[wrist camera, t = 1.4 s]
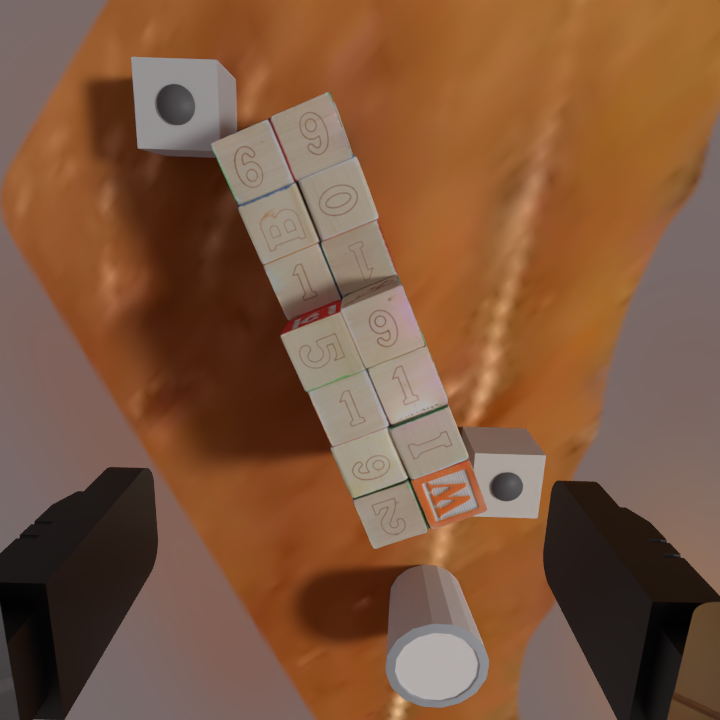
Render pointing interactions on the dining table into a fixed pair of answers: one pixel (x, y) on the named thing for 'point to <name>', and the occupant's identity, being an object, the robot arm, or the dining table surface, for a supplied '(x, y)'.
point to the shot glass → (433, 640)
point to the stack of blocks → (350, 322)
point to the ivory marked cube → (506, 470)
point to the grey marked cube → (182, 105)
